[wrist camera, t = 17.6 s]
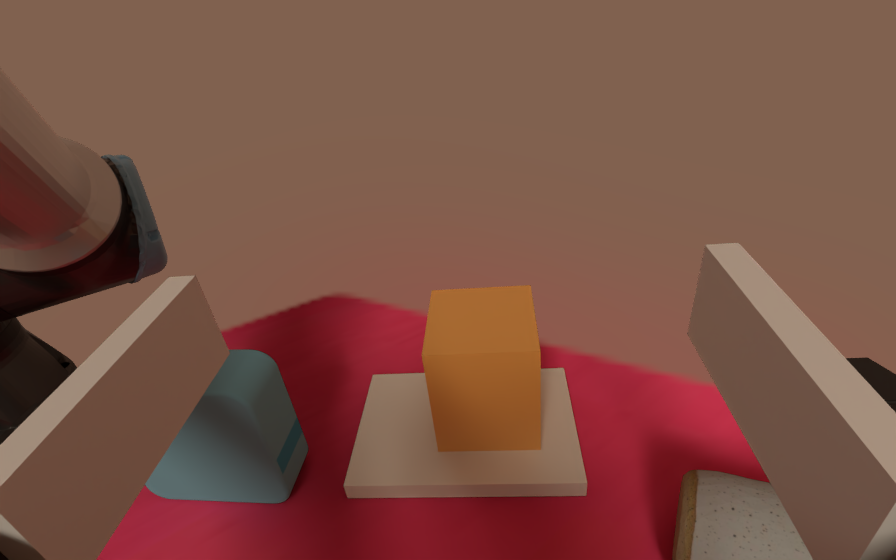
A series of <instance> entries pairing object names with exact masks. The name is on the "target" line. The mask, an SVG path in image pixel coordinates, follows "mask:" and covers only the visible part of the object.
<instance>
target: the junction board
mask: <svg viewBox="0 0 896 560" xmlns="http://www.w3.org/2000/svg"><path fill="white" fill-rule="evenodd" d="M343 487H344V490H345V492H346V495H347V498H418V497H521V496H586V494H587V479H586V474H585V469H584V464H583V460H582V455H581V450H580V445H579V440H578V435H577V430H576V425H575V420H574V415H573V411H572V406H571V401H570V396H569V391H568V386H567V381H566V376H565V371H564V368H545V369H541V450H506V451H454V452H438V447H437V442H436V436H435V430H434V424H433V418H432V412H431V407H430V401H429V395H428V389H427V383H426V378H425V373H407V374H380V375H373V376H372V380H371V384H370V388H369V391H368V395H367V399H366V403H365V406H364V410H363V414H362V418H361V421H360V425H359V429H358V433H357V437H356V440H355V444H354V448H353V452H352V455H351V459H350V463H349V467H348V470H347V474H346V478H345V482H344V485H343Z"/></svg>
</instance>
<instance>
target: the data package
mask: <svg viewBox="0 0 896 560" xmlns="http://www.w3.org/2000/svg"><path fill="white" fill-rule="evenodd" d="M229 352H230V354H229V356H228V357H227V359H226V360H225V362H224V363H223V365H222V366H221V368H220V369H219V371H218V373H217V374H216V376H215V377H214V379H213V380H212V382H211V383H210V385H209V386H208V388H207V389H206V391H205V393H204V394H203V396H202V397H201V399H200V400H199V402H198V403H197V405H196V406H195V408H194V409H193V411H192V413H191V414H190V416H189V417H188V419H187V420H186V422H185V423H184V425H183V426H182V428H181V430H180V431H179V433H178V434H177V436H176V437H175V439H174V440H173V442H172V443H171V445H170V446H169V448H168V450H167V451H166V453H165V454H164V456H163V457H162V459H161V460H160V462H159V463H158V465H157V467H156V468H155V470H154V471H153V473H152V474H151V476H150V477H149V479H148V480H147V482H146V483H145V485H146V486H147V488H148V489H149V490H150V491H152V492H153V493H154V494H156V495H158V496H161V497H163V498H167V499H181V500H204V501H227V502H251V503H281V502H284V501H285V500H287V499H288V497H289V496H290V493H291V491H292V489H293V486H294V484H295V481H296V479H297V477H298V474H299V472H300V469H301V467H302V465H303V462H304V460H305V457H306V455H307V453H308V445H307V442H306V439H305V437H304V434H303V431H302V429H301V426H300V424H299V421H298V418H297V416H296V413H295V410H294V408H293V405H292V403H291V400H290V397H289V395H288V392H287V390H286V387H285V384H284V382H283V379H282V376H281V374H280V371H279V369H278V366H277V364H276V362H275V361H274V360H273V359H272V358H271V357H270V356H268V355H267V354H265V353H263V352H261V351H257V350H229Z"/></svg>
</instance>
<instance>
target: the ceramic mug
mask: <svg viewBox="0 0 896 560" xmlns="http://www.w3.org/2000/svg"><path fill="white" fill-rule="evenodd" d="M672 560H813V558H812V556H811V555H810V553H809V551H808V549H807V548H806V546H805V544H804V542H803V540H802V539H801V537H800V535H799V533H798V531H797V530H796V528H795V526H794V524H793V522H792V521H791V519H790V517H789V515H788V514H787V512H786V510H785V508H784V506H783V505H782V503H781V501H780V499H779V497H778V496H777V494H776V492H775V490H774V488H773V487H772V485H771V483H768V482H763V481H758V480H753V479H748V478H744V477H741V476H737V475H732V474H728V473H723V472H718V471H708V470H691V471H688V472H687V473H686V474H685V475H683V479H682V483H681V489H680V495H679V502H678V510H677V519H676V527H675V536H674V545H673V556H672Z"/></svg>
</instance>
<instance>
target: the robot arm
mask: <svg viewBox="0 0 896 560" xmlns="http://www.w3.org/2000/svg"><path fill="white" fill-rule="evenodd" d="M166 264H167V254H166V250H165V247H164V244H163V241H162V238H161V235H160V233H159V230H158V227H157V224H156V220H155V217H154V215H153V212H152V209H151V206H150V203H149V201H148V198H147V196H146V192H145V190H144V187H143V184H142V182H141V179H140V176H139V174H138V171H137V169H136V166H135V165H134V163H133V161H132V160H131V159H130V158H129V157H128V156H125V155H116V156H112V155H104V156H102V157H100V156H99V155H98V154H97V153H95V152H94V151H92V150H91V149H89V148H87V147H85V146H84V145H82V144H80V143H77V142H75V141H72V140H70V139H66V138H62V137H59V136H58V135H57V134H56V133H55V132H54V131H53V130H52V129H51V127H50V126H49V125H48V124H47V122H46V121H45V120H44V119H43V118H42V117H41V115H40V114H39V113H38V112H37V111H36V110H35V108H34V107H33V106H32V105H31V104H30V103H29V101H28V100H27V99H26V98H25V97H24V95H23V94H22V93H21V92H20V91H19V89H18V88H17V87H16V86H15V85H14V84H13V82H12V81H11V80H10V79H9V78H8V77H7V75H6V74H5V73H4V72H3V71H2V70H1V68H0V560H96V559H97V557H98V556H99V554H100V553H101V551H102V550H103V548H104V547H105V545H106V544H107V542H108V540H109V539H110V537H111V536H112V534H113V533H114V531H115V530H116V528H117V527H118V525H119V524H120V522H121V520H122V519H123V517H124V516H125V514H126V513H127V511H128V510H129V508H130V507H131V505H132V503H133V502H134V500H135V499H136V497H137V496H138V494H139V493H140V491H141V490H142V488H143V487H144V485H145V483H146V482H147V480H148V479H149V477H150V476H151V474H152V473H153V471H154V470H155V468H156V467H157V465H158V463H159V462H160V460H161V459H162V457H163V456H164V454H165V453H166V451H167V450H168V448H169V446H170V445H171V443H172V442H173V440H174V439H175V437H176V436H177V434H178V433H179V431H180V430H181V428H182V426H183V425H184V423H185V422H186V420H187V419H188V417H189V416H190V414H191V413H192V411H193V409H194V408H195V406H196V405H197V403H198V402H199V400H200V399H201V397H202V396H203V394H204V393H205V391H206V389H207V388H208V386H209V385H210V383H211V382H212V380H213V379H214V377H215V376H216V374H217V373H218V371H219V369H220V368H221V366H222V365H223V363H224V362H225V360H226V359H227V357H228V356H229V354H230V352H229V350H228V348H227V345H226V343H225V341H224V339H223V336H222V334H221V332H220V330H219V327H218V325H217V323H216V321H215V318H214V316H213V314H212V312H211V309H210V307H209V305H208V303H207V300H206V298H205V296H204V294H203V291H202V289H201V287H200V284H199V282H198V280H197V278H196V276H195V275H194V276H178V277H168V278H167V279H166V280H165V281H164V283H162V284H161V285H160V287H158V288H157V289H156V290H155V291H154V292H153V294H151V295H150V296H149V297H148V298H147V299H146V300H145V301H144V302H143V303H142V304H141V305H140V306H139V307H138V308H137V309H136V310H135V311H134V312H133V313H132V314H131V315H130V316H129V317H128V318H127V319H126V320H125V321H124V322H123V323H122V324H121V325H120V326H119V327H118V328H117V329H116V330H115V331H114V332H113V333H112V334H111V335H110V336H109V337H108V338H107V339H106V340H105V341H104V342H103V343H102V344H101V345H100V346H99V347H98V348H97V349H96V350H95V351H94V352H93V353H92V354H91V355H90V356H89V357H88V358H87V359H86V360H85V361H84V362H83V363H82V364H81V365H80V366H79V367H78V368H77V367H76V366H75V364H74V363H73V362H72V361H71V360H70V359H69V358H68V357H66V356H65V355H63V354H62V353H60V352H59V351H57V350H56V349H54V348H53V347H51V346H50V345H48V344H47V343H45V342H44V341H42V340H41V339H39V338H38V337H36V336H35V335H33V334H32V333H30V332H29V331H27V330H26V329H25V328H24V327H23V326H22V325H21V324H20V322H19V321H18V320H17V318H16V317H18V316H22V315H24V314H27V313H31V312H34V311H37V310H41V309H44V308H47V307H51V306H54V305H57V304H60V303H63V302H67V301H70V300H73V299H77V298H80V297H83V296H86V295H90V294H93V293H96V292H99V291H102V290H106V289H109V288H113V287H116V286H119V285H122V284H126V283H135V282H138V281H140V280H141V278H144V277H147V276H149V275H152V274H155V273H158V272H160V271H161V270H162V269H163V268H164V267H165V266H166ZM687 334H688V336H689V338H690V340H691V342H692V343H693V345H694V346H695V349H696V351H697V352H698V354H699V356H700V358H701V359H702V361H703V363H704V365H705V367H706V368H707V370H708V372H709V374H710V376H711V377H712V379H713V381H714V383H715V385H716V386H717V388H718V390H719V392H720V394H721V395H722V397H723V399H724V401H725V402H726V404H727V406H728V408H729V410H730V411H731V413H732V415H733V417H734V419H735V420H736V422H737V424H738V426H739V428H740V429H741V431H742V433H743V435H744V436H745V438H746V440H747V442H748V444H749V445H750V447H751V449H752V451H753V453H754V454H755V456H756V458H757V460H758V462H759V463H760V465H761V467H762V469H763V471H764V472H765V474H766V476H767V478H768V479H769V481H770V483H771V485H772V487H773V488H774V490H775V492H776V494H777V496H778V497H779V499H780V501H781V503H782V505H783V506H784V508H785V510H786V512H787V514H788V515H789V517H790V519H791V521H792V522H793V524H794V526H795V528H796V530H797V531H798V533H799V535H800V537H801V539H802V540H803V542H804V544H805V546H806V548H807V549H808V551H809V553H810V555H811V556H812V558H813V560H896V374H894V373H892V372H891V371H889V370H887V369H886V368H884V367H882V366H881V365H879V364H877V363H876V362H874V361H872V360H871V359H869V358H845V357H844V356H843V355H842V354H841V353H840V352H839V351H838V350H837V349H836V348H835V347H834V345H833V344H832V343H831V342H830V341H829V340H828V339H827V338H826V337H825V336H824V335H823V334H822V333H821V331H820V330H819V329H818V328H817V327H816V326H815V325H814V324H813V323H812V322H811V321H810V320H809V318H808V317H807V316H806V315H805V314H804V313H803V312H802V311H801V310H800V309H799V308H798V307H797V306H796V305H795V303H794V302H793V301H792V300H791V299H790V298H789V297H788V296H787V295H786V294H785V293H784V292H783V290H782V289H781V288H780V287H779V286H778V285H777V284H776V283H775V282H774V281H773V280H772V279H771V278H770V276H769V275H768V274H767V273H766V272H765V271H764V270H763V269H762V268H761V267H760V266H759V265H758V264H757V262H756V261H755V260H754V259H753V258H752V257H751V256H750V255H749V254H748V253H747V252H746V251H745V250H744V248H743V247H742V246H741V245H740V244H739V243H728V244H711V245H705V248H704V253H703V258H702V263H701V268H700V273H699V278H698V283H697V288H696V293H695V298H694V303H693V308H692V313H691V318H690V323H689V328H688V333H687Z"/></svg>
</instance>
